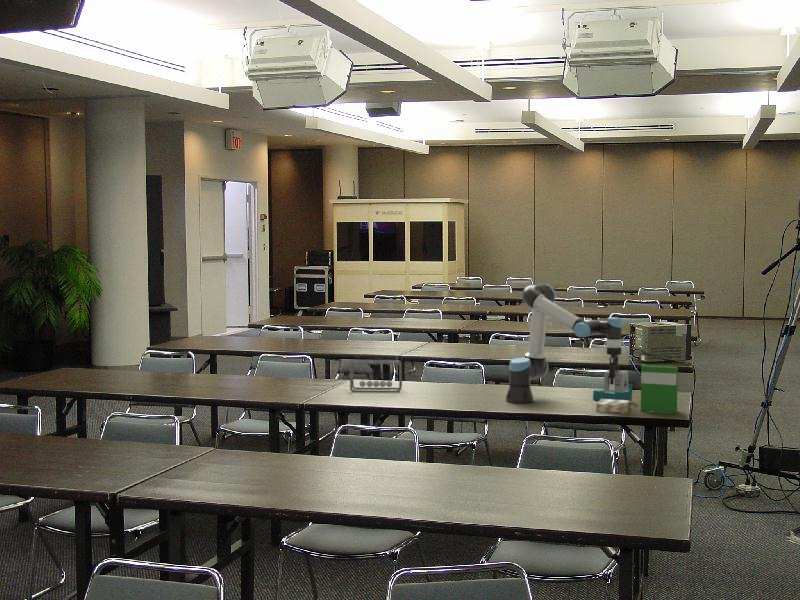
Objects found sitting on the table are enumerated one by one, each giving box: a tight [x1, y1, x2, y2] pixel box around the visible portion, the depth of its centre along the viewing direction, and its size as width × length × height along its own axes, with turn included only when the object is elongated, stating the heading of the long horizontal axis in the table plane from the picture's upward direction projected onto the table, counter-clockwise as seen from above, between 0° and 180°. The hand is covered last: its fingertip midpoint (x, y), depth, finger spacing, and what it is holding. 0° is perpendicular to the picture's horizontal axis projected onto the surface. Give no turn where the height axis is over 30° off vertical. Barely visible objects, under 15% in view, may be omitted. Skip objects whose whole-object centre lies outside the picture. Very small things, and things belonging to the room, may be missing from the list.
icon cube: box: [603, 369, 629, 393], centre depth 491 cm, size 10×10×10 cm
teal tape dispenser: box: [592, 383, 634, 402], centre depth 516 cm, size 18×11×10 cm, turn 40°
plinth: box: [595, 399, 631, 414], centre depth 493 cm, size 15×15×4 cm
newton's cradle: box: [349, 359, 403, 393], centre depth 549 cm, size 30×10×18 cm, turn 87°
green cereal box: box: [640, 363, 679, 414], centre depth 488 cm, size 18×7×24 cm, turn 68°
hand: (613, 388), depth 492 cm, fingers closed on icon cube, 10 cm apart
